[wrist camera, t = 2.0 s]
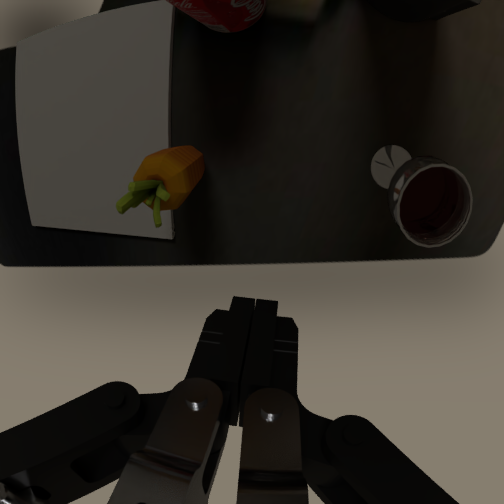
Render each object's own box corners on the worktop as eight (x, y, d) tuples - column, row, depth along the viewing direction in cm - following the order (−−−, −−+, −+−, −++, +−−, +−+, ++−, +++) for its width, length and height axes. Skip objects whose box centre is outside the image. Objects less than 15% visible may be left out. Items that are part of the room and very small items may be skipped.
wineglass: (364, 133, 29) (401, 157, 19) (423, 140, 28) (479, 168, 18) (360, 195, 33) (389, 246, 22) (416, 199, 32) (462, 250, 21)
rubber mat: (175, 0, 24) (173, -2, 23) (174, 236, 38) (172, 239, 37) (20, 42, 26) (17, 42, 25) (35, 223, 40) (32, 225, 39)
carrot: (224, 140, 32) (174, 178, 18) (213, 183, 34) (163, 246, 21) (180, 129, 31) (106, 160, 18) (171, 171, 34) (101, 226, 21)
